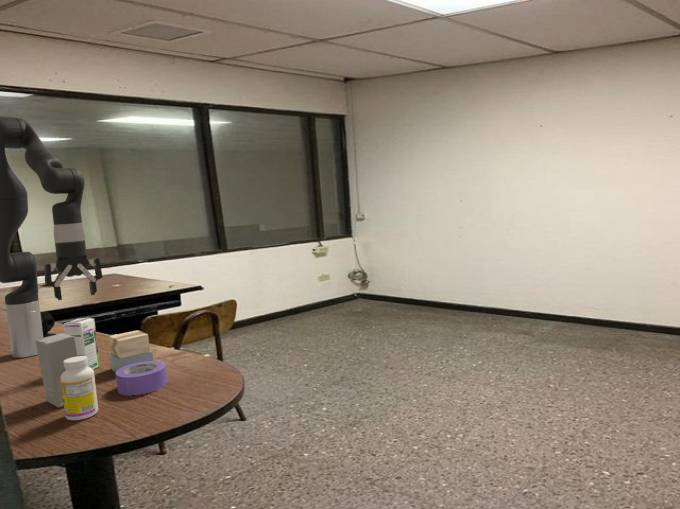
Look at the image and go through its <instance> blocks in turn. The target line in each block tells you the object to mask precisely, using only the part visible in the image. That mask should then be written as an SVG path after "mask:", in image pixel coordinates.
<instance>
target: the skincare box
mask: <svg viewBox="0 0 680 509" xmlns="http://www.w3.org/2000/svg"><path fill="white" fill-rule="evenodd" d="M56 334H57V335H53V336H49V337H45V338H41V339H37V340H36V347H37V352H38V355H37V357H38V363H39V367H40V372H41V377H42V383H43V390H44V394H45V398H46V399H45V400H46V402H48V403H49V404H51V405H52V406H54V407H56V408H62V407H64V404H63V396H62V387H61V379H60V377H61V375H62V373H63V372H65V371H66V368H65V367H64V360H66V359H68V358H72V357H77V356H78V355H77V350H76V344H75V339H74V336H70V335H67V334H65V332H62V333H56Z"/></svg>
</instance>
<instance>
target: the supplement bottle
mask: <svg viewBox="0 0 680 509" xmlns="http://www.w3.org/2000/svg"><path fill="white" fill-rule="evenodd" d="M87 364H88V359H87V357H86V356H77V357H72V358H68V359H66V360H64V367H65V368H66V371H65V372H63V373H62V375H61V377H60V379H61V387H62V396H63V404H64V406H63V409H64V416H65V419H66V420H69V421H81V420H86V419H88V418H91V417H92V416H95V415H96V414H97V413H98V412H99V404H98V396H97V387H96V378H95V371H94V369H92V368H90V367H87Z"/></svg>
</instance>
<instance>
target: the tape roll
mask: <svg viewBox="0 0 680 509" xmlns="http://www.w3.org/2000/svg"><path fill="white" fill-rule="evenodd" d="M115 378H116V379H115V380H116V387H117V393H118V394H119V395H121V396H126V397H132V395H135V396H142V395H141V394H143V395H147V394H146V393H148V394H151V393H154V392H153V391H155V392H157V391H159V390H158V389H160V388H162V387H163V386H165V385H166V383H167V384H168V380H167V379H168V378H167V369H166V363H165V362H162V361H159V360H158V361H157V360H153V361H145V362H138V363H134V364H130V365H127V366H124V367H122V368H120V369H119V370H117V372H115ZM166 386H167V385H166ZM166 386H165V387H166ZM163 388H164V387H163ZM163 388H162V389H163ZM156 390H157V391H156ZM160 390H161V389H160ZM150 392H151V393H150Z"/></svg>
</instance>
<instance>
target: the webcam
mask: <svg viewBox="0 0 680 509" xmlns="http://www.w3.org/2000/svg"><path fill="white" fill-rule="evenodd" d="M40 314H41V323H42V331H43V338H45V337H49V336H53V335H57V334H58V333H49V332H51V330H52V328H54V326H55V324H56V323H55V318H54V317H53V315H52V314H51V313H50V312H47V311H42V312H40Z"/></svg>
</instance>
